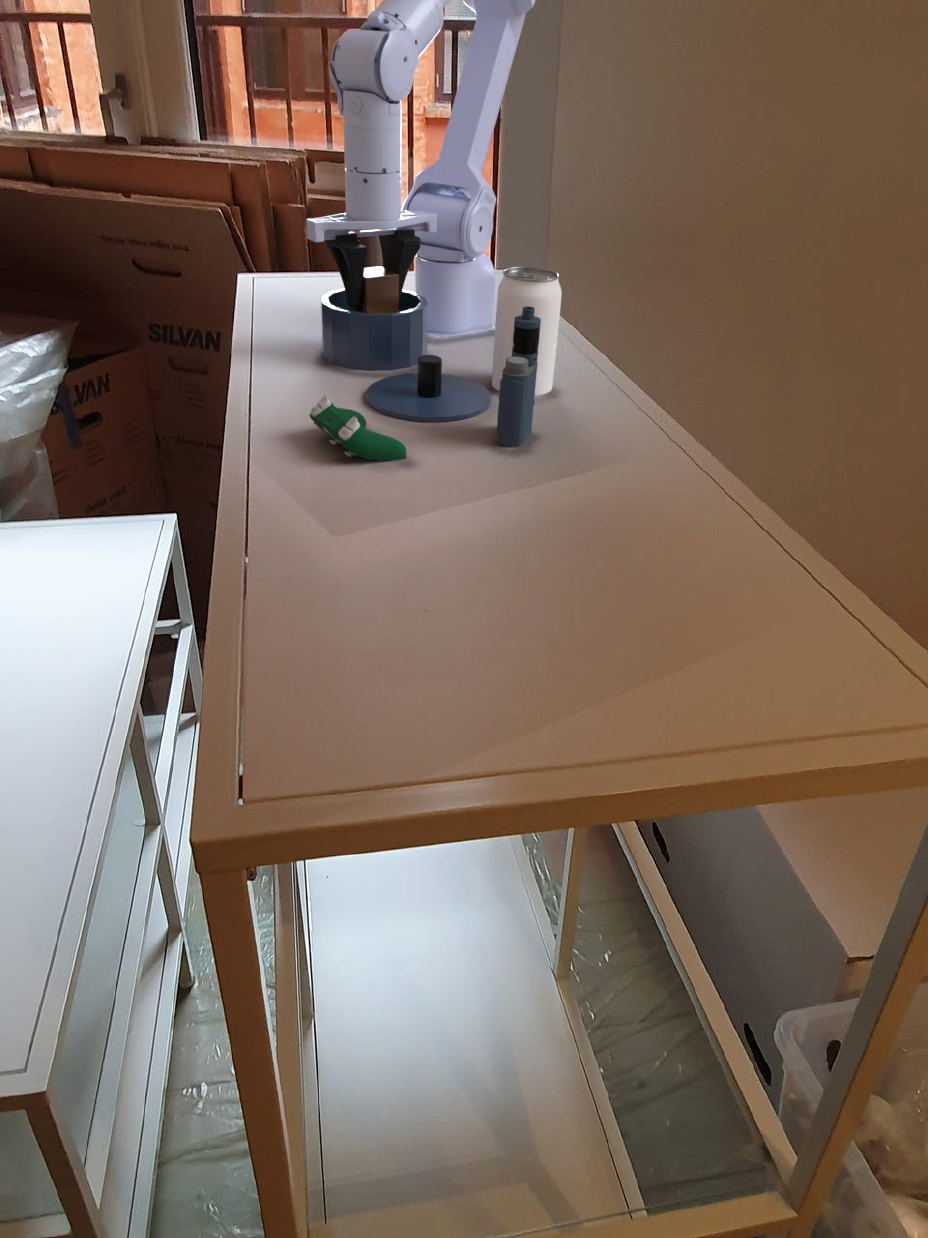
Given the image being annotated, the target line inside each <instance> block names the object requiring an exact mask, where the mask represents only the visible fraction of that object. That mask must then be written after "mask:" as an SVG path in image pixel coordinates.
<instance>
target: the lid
mask: <svg viewBox="0 0 928 1238" xmlns="http://www.w3.org/2000/svg"><path fill="white" fill-rule="evenodd" d="M442 371H443V358H442V357H441V356H439V355H435V354H427V355H423V356H420V357H418V364H417V372H413V373H411V372H409V373H403V374H395V375H391V376H386V377H384V378H381V379H379V380H377V381H375V382H373V383H372V384H371V385H369V386H368V388H367V389H366V402H367V403H368V404H369V406H370V407H372V409H374V410H376V411H378V412H380V413H381V414H384V415H387V416H391V417H393V418H396V419H397V418H398V419H402V420H407V421H413V422H414V421H415V422H424V423H425V422H427V423H438V422H439V423H440V422H443V423H445V422H453V421H460V420H461V421H462V420H465V419H469V418H473V417H476V416H478V415H480V414H482V413H484V412H485V411H487V410H488V409H489V407H490V406H491V403H492V394H491V392H490V391H489V389H488V388H486V387H485V385H483V384H481V383H479V382H476V381H474V380H473V379H472V380H471V379H468V378H465V377H461V376H458V375H452V374H446V373H445V374H444V373H442Z"/></svg>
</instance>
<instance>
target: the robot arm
mask: <svg viewBox="0 0 928 1238" xmlns="http://www.w3.org/2000/svg"><path fill="white" fill-rule="evenodd" d="M462 1H463V3H464V5H465V6H467V7H468V8H470V10H471V11H473V12H474V13H475V22H474V26H473V29H472V34H471V37H470V42H469V45H468V49H467V52H466V56H465V60H464V64H463V67H462V71H461V74H460V78H459V82H458V86H457V88H456V89H457V90H456V93H455V97H454V101H453V103H452V108H451V110H450V111H451V112H450V116H449V119H448V123H447V127H446V130H445V133H444V138H443V141H442V145H441V149H440V152H439V155H438V159H437V160H436V161H434V162H433V163H432V164H430V165H428V166H427V167H426V168H424V169H422V170H421V171H420V172H418V173H417V174H416V175H415V178H414V182H413V186H412V188H411V190H410V192H409V193H408V195H407V196H406V198H405V200H404V202H403V204H402V195H401V194H402V100H404V98H406V96H409V94H410V93H411V90H412V88H413V85H414V80H415V73H416V69H417V68H418V67H419V62H420V57H421V56H422V54H423V53H424V52H425V51H426V49H427V48H428V47H429V45H431V43H432V42H433V40H434V39H435V38H436V37H437V35H438V34H439V33H440V31H441V30H442V28H443V26H444V20H445V15H444V8H445V7H446V6H447V5H448V4H449V3H450V2H451V0H382V1H381V2H380V4H379V5H378V6H377V7H376V8H375V9H374V10H372V11H371V12H370V14H368V16H367V19H366V20H365V21H364V23H362V25H361V26H360V28H358V29H357V28H350V29H347V30H345V31H344V32H343V33H342V34H341V36H339V37H338V38H337V39H336V41H335V43H334V44H333V47H332V52H331V56H330V61H329V62H328V64H327V65H328V73H329V77H330V82H331V84H332V86H333V88H334V90H335V93H336V97H337V110H338V111H339V115H340V116H342V118H343V147H344V148H343V157H344V186H345V187H344V189H345V192H344V193H345V212H344V213H337V214H331V215H325V216H321V217H320V216H319V217H313V218H312V217H310V218H306V220H305V225H306V227H305V228H306V240H309V241H312V242H314V243H324V242H325V245H326V247H327V249H328V251H329V253H330V254H331V256H332V258H333V261H334V263H335V265H336V268H337V270H338V272H339V274H340V277H341V281H342V284H343V287H344V288H345V291H346V295H347V300H348V305H349V307H351V308H353V309H355V310H362V308H363V297H364V293H363V276H364V268H365V265H366V259H367V254H368V247H367V246H365V245H362V244H361V240H358V238H364V237H376V236H377V237H378V239H379V244H380V250H381V259H382V264H383V266H382V267H383V268H385V269H388V270H390V271H392V272H394V273H396V274H398V275H399V302H400V297H401V293H402V289H403V290H404V285H405V281H406V279H407V276H408V272H409V271H410V268H411V265H412V263H413V261H414V262H415V266H414V267H415V268H414V276H415V277H414V292H415V293H417V294H419V295H421V296H423V297H425V299H426V301H427V302H428V323H427V337H429V338H431V339H440V338H446V337H453V336H460V335H466V334H472V333H473V334H474V333H479V332H487V331H493V330H495V326H494V312H495V311H494V309H495V293H496V273H495V268H494V265H493V262H492V260H491V259H490V257H489V256H488V255H487V254H485V253H484V252H485V250H486V249H487V247H488V246H489V244H490V242H491V238H492V235H493V230H494V214H495V213H494V212H495V207H496V202H497V197H496V195H495V192H494V190H493V188H492V186H491V185H490V184H489V182H488V181H487V180H486V179H485V177H484V176H483V169H484V167H485V163H486V162H485V161H486V159H487V155H488V152H489V149H490V144H491V141H492V138H493V133H494V130H495V127H496V124H497V119H498V116H499V112H500V109H501V106H502V102H503V98H504V94H505V91H506V87H507V85H508V80H509V76H510V74H511V70H512V66H513V63H514V59H515V56H516V52H517V48H518V45H519V42H520V37H521V34H522V31H523V28H524V22H525V18H526V14H527V13H528V12H529V11H530V10H532V8H534V7H535V4H536V0H462ZM414 259H415V260H414Z"/></svg>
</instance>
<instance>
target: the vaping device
mask: <svg viewBox="0 0 928 1238" xmlns="http://www.w3.org/2000/svg"><path fill="white" fill-rule="evenodd" d="M534 310H535V308H533V307H528V306H527V307H523V310H522V315H520V316H516V317H515V320H514V333H513V345H514V347H513V346H512V357H508V358H506V365H505V368H504V369H503V370H502V372H503V373H502V379H501V380H500V391H499V394H498V407H497V420H496V421H497V422H496V437H495V438H496V439H495V440H496V442H497V444H498V445H500V446H503V447H507V448H518V447H521V446H522V445H523V444H524V443H525V441H526V440H527V439H528V437H529V436H530V435H531V433H532V426H533V418H534V417H533V416H534V415H533V414H534V406H535V403H536V402H535V397H536V396H535V385H536V374H537V364H538V362H537V357H538V349H537V347H539V336H540V325H541V319H540V318H539V317H536V316H534Z"/></svg>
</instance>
